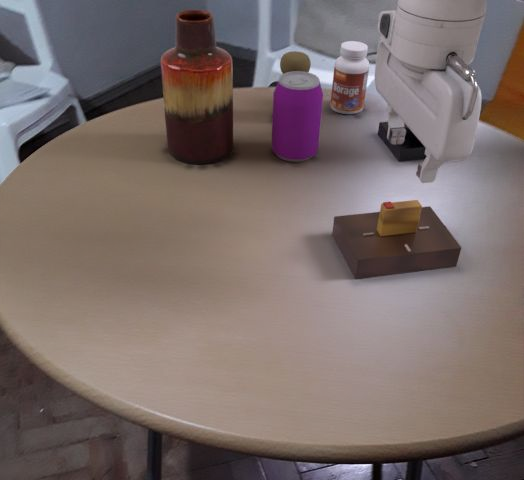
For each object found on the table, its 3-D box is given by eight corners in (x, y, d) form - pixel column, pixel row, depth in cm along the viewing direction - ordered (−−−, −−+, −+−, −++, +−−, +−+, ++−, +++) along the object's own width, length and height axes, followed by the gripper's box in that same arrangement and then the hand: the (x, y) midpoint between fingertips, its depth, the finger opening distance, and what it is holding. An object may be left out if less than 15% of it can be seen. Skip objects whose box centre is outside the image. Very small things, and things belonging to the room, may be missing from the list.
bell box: (430, 129, 111) (435, 107, 108) (455, 156, 104) (461, 133, 101) (377, 134, 109) (381, 111, 106) (398, 161, 102) (403, 138, 100)
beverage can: (298, 137, 108) (303, 65, 99) (327, 156, 103) (334, 82, 95) (262, 149, 104) (264, 75, 96) (289, 168, 100) (294, 93, 92)
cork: (288, 127, 110) (291, 63, 103) (268, 114, 114) (270, 51, 106) (315, 120, 113) (321, 56, 105) (296, 107, 116) (299, 45, 109)
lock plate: (425, 224, 89) (430, 205, 87) (456, 266, 83) (462, 246, 80) (331, 235, 87) (334, 215, 85) (355, 279, 80) (358, 259, 78)
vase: (193, 171, 98) (185, 33, 84) (155, 146, 104) (141, 12, 90) (246, 151, 104) (247, 18, 89) (207, 128, 109) (202, -1, 95)
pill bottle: (325, 111, 115) (331, 48, 107) (335, 99, 119) (342, 37, 112) (358, 118, 114) (366, 54, 106) (367, 105, 118) (376, 42, 110)
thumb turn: (411, 225, 84) (418, 197, 81) (416, 232, 83) (422, 204, 80) (376, 229, 83) (381, 201, 80) (380, 236, 82) (385, 208, 79)
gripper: (511, 74, 59) (472, 203, 69) (424, 7, 73) (402, 121, 83) (449, 77, 58) (418, 208, 68) (373, 9, 72) (357, 125, 82)
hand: (409, 160), depth 76 cm, fingers open, 8 cm apart
